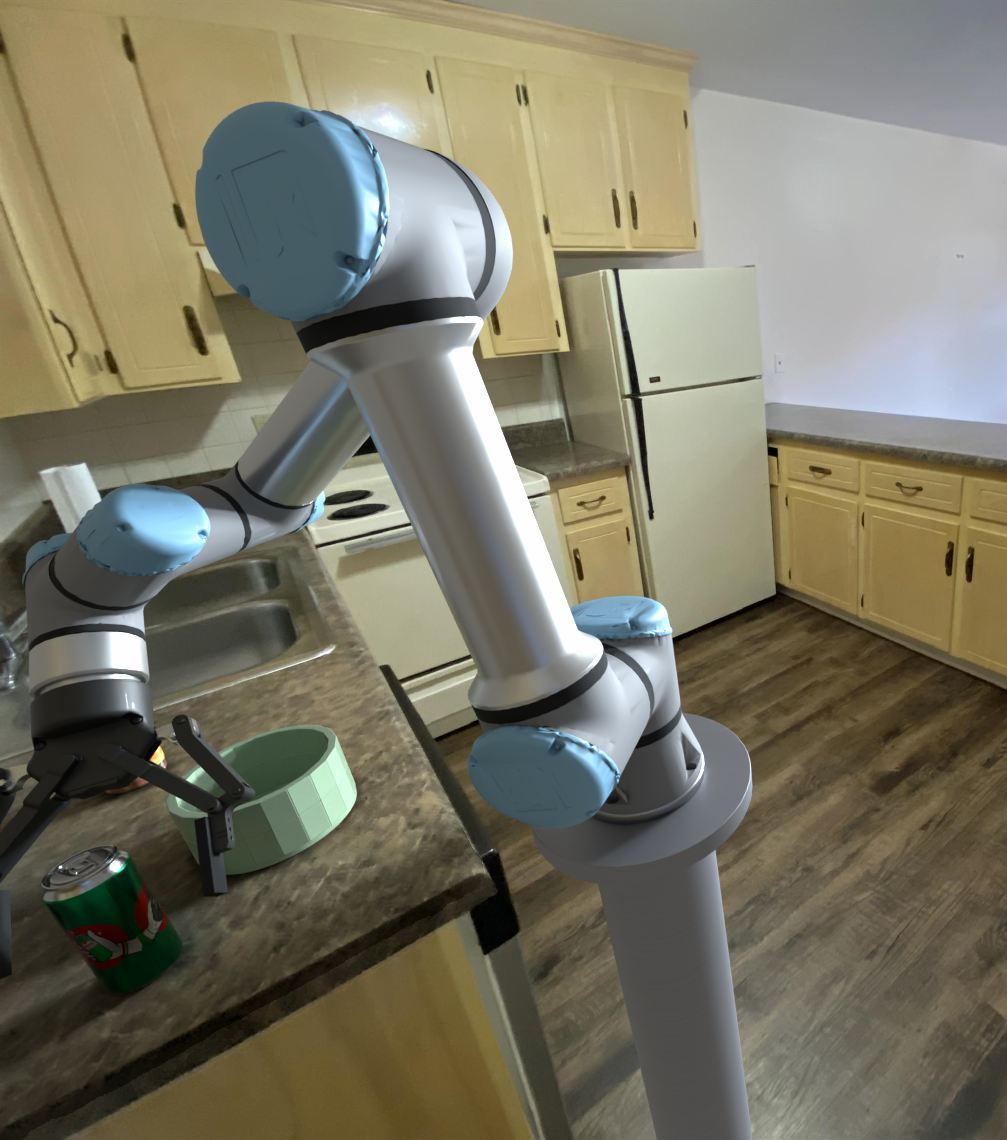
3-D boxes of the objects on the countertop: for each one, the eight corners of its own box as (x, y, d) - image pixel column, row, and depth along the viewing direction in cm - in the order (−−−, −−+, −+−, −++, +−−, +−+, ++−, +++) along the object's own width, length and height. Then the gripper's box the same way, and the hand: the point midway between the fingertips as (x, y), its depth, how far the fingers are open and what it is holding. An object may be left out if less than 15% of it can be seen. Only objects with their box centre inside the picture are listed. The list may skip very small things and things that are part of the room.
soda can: (166, 934, 56) (104, 833, 52) (198, 951, 54) (136, 849, 50) (94, 986, 52) (20, 882, 48) (126, 1007, 50) (52, 901, 46)
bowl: (358, 759, 78) (339, 710, 75) (355, 833, 66) (332, 778, 63) (213, 807, 72) (186, 755, 69) (181, 899, 60) (146, 840, 57)
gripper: (272, 663, 65) (307, 866, 59) (-72, 750, 54) (-76, 1012, 48) (244, 638, 59) (280, 862, 52) (-152, 732, 48) (-169, 1031, 41)
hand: (110, 935), depth 50 cm, fingers open, 13 cm apart
